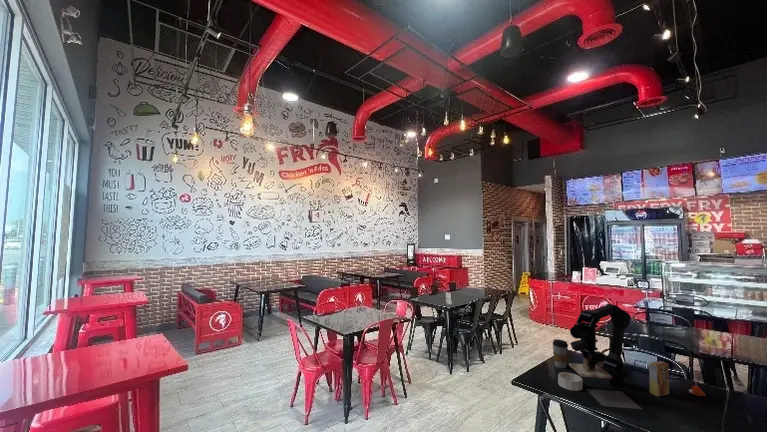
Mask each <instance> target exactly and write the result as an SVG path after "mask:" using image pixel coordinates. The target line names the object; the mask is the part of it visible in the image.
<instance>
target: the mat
mask: <svg viewBox="0 0 767 432" xmlns="http://www.w3.org/2000/svg"><path fill="white" fill-rule="evenodd" d="M585 390H586V391H587V392H588V393H589V394H590V395H591V396H592V397H593V398H594V399H595V400H596V401H597V402H598V403H599V404H600V405H601V406H602V407H608V408H609V407H610V408H611V407H612V408H621V409H622V408H623V409H634V410H635V409H636V410H643V408H642V407H641V406H639V405H638V404H637V403H636V402H635V401H634V400H633V399H632V398H630V397H629V396H628V395H626V394H625V393H624V392H623V391H620V390H606V389H593V388H592V389H591V388H585Z"/></svg>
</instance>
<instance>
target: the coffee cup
mask: <svg viewBox="0 0 767 432" xmlns="http://www.w3.org/2000/svg"><path fill="white" fill-rule="evenodd" d="M568 348H569V344H568V341H566V340H564V339H553V341H552V351H553V352H552V354H553V362H554V363H553V364H554V366H555V367H556V368H557V369H566V368H567V366H568V365H567V363H568V350H569V349H568Z"/></svg>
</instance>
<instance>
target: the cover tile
mask: <svg viewBox="0 0 767 432" xmlns="http://www.w3.org/2000/svg"><path fill="white" fill-rule="evenodd" d="M582 360H583V363H574V362H573V363H570V362H569V363H568V366H569V367H570V368H571V369H572V370H574V371H575V372H576V373H577V375H578V376H580V377H581V378H582V377H585V378H599V379H602V378H603V379H608V378H612V376H611V375H610V374H609V373H608V372H606V371H604V370H603V369H602V368H600V367H599V366H598V365H595V367H594V368H593V369H590V363H589V358H582Z"/></svg>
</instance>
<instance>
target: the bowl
mask: <svg viewBox="0 0 767 432" xmlns="http://www.w3.org/2000/svg"><path fill="white" fill-rule="evenodd" d="M583 381H584V379H583V378H582V376H581V375H579V374H575V373H571V372H566V371H563V372H559V373H558V374H557V384H558V385H559V387H561V388H563V389H565V390H568V391H574V392H579V391H582V390H583V387H584V386H583V385H584V384H583V383H584V382H583Z"/></svg>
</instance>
